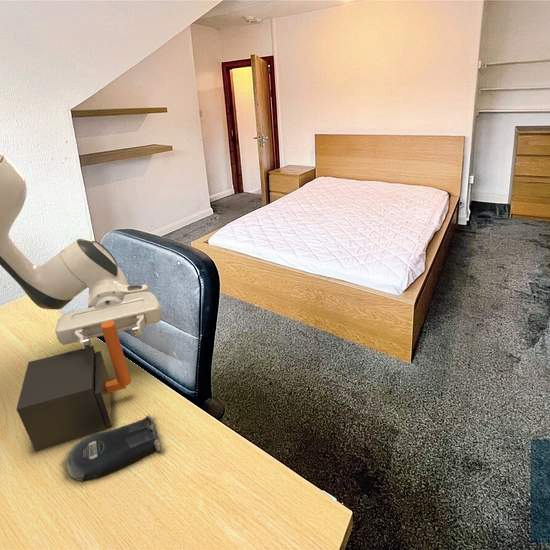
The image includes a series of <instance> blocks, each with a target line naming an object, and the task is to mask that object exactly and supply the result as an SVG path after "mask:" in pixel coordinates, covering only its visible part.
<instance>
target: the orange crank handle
mask: <svg viewBox="0 0 550 550" xmlns="http://www.w3.org/2000/svg"><path fill="white" fill-rule="evenodd" d="M101 328H102V331H103V334H104V335H103V338H104V341H105V344H106V347H107V351H108V354H109V357H110V361H111V365H112V368H113V371H114V374H115V378H116V379H111V380H110V376H109V373H108V370H107V367H106V364H105V360H104V357H103V353H102V350H98V351H95V353H96V362H95V363H94V391H95V395H96V398H97V401H98V404H99V407H100V410H101V413H102V416H103V419H104V422H105V425H106V428H108V427H111V426H113V421H112V394H111V393H114V392H117V391H120V390H123V389H126V388H127V386H129V385H130V384H131V383H132V379H131V376H130V372H129V368H128V365H127V361H126V359H125V354H124V351H123V347H122V344H121V340H120V337H119V334H118V333H119V332H117V329H116V326H115V322H114V321H106V322H104V323H102V325H101Z"/></svg>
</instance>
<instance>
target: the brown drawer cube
mask: <svg viewBox="0 0 550 550" xmlns="http://www.w3.org/2000/svg"><path fill="white" fill-rule="evenodd" d="M95 362H96V349H95V347H94V345H91V347H89V348H85V349H82V348H78V349H75V350H71V351H67V352H62V353H58V354H54V355H50V356H47V357H43V358H39V359H34V360H31V361H28V363H27V366H26V370H25V374H24V378H23V382H22V385H21V390H20V394H19V397H18V401H17V405H16V410H15V411H16V412H17V414H18V416H19V418H20V420H21V422H22V425H23V427H24V429H25V431H26V433H27V435H28V438H29V440H30V442H31V444H32V447H33V449H34V451H35V452H38V451H42V450H44V449H48V448H51V447H54V446H57V445H60V444H64V443H66V442H70V441H73V440H77V439H80V438H82V437H87V436H91V435H94V434H97V433H100V432H101V431H102V432H103V431H105V430H107V427H106V425H105V422H104V419H103V416H102V413H101V410H100V407H99V404H98V401H97V398H96V395H95V391H94V363H95Z"/></svg>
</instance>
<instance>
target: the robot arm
mask: <svg viewBox="0 0 550 550" xmlns="http://www.w3.org/2000/svg"><path fill="white" fill-rule="evenodd" d="M27 189H28V188H27V183H26V179H25V177H24V176H23V174H22V173H21V171H20V170H19V169H18V168H17V167H16V166H15V165H14V164H13V163H12V162H11V161H10V159H8V158H7V157H6V156H5V155H4V154H3V153H2V152H1V151H0V267H1V268H2V269H3V270H4V271H5V272H6V273H7V274H8V275H9V276H10V277H11V278H12V279H13V280H14V282H16V283H17V284H18V285H19V286H20V287H21V289H22V290H23V291H24V293H25V294H26V296H28V298H29V299H30V300H31V301H32V302H33V303H34V304H35V305H36V306H37V307H38V308H40V309H43V310H55V311H56V310H62V309H63V308H65V307H66V306H67V305H68V304H70V302H71V301H72V300H73V299H75V297H77V296H78V295H79V294H81V293H82V292H84V291H85V290H86V289H87V288H88V301H87V307H85V308H80V309H76V310H72V311H68V312H66V313H64V314H62V315H61V316H60V317H59V318H58V319H57V322H56V325H55V330H54V333H55V335H56V339H57V341H58V343H59V344H60V345H65V346H66V345H70V344H74V343H78V344H79V345H80V346H81V349H85V348H89V347H91V346H92V341H91V339H95V338H99V337H102V336H103V337H104V334H103V331H102V328H101V325H102V323H104V322H106V321H114V322H115V326H116V329H117V333H120V332H123V331H128V330H132V332H133V333H132V334H133V336H134V337H136V336H141V335H143V332H142V331H143V330H144V328H146V327H147V325H152V324H156V323H159V322H161V321H162V320H163V313H162V309H161V305H160V303H159V300H158V298H157V297H156V296H155V294H154V293H152V292H151V291H150V289H149V286H148V285H146V284H136V285H135V284H133V285H131V284H130V285H129V282H128V280H127V277H126V275H125V273H124V272H123V270H122V269H121V267H119V266H118V262H117V260H116V259H115V257H114V256H113V254H112V253H111V252H110V251H109V250H108V249H107V248H106V247H105V246H104V245H103V244H102V243H100V242H98V241H95V240H92V239H88V238H78V239H76V240H75V241H73V242H72V243H70V244H69V245H67V246H66V247H65V248H64V249H62V250H61V251H60V252H58V253H57V254H55V255H54V256H53V257H51V258H50V259H49V260H47V261H46V262H45V263H43V264H41V265H35V264H33V263H32V262H31V260H30V259H29V258H28V257H27V256H26V255H25V254H24V253H23V251H21V250H20V248H19V247H18V246H17V245H16V244H15V242H13V241H12V239H11V238H10V231H11V228H12V226H13V225H14V223H15V221H16V219H18V216H19V215H20V213H21V211H22V209H23V207H24V205H25V201H26V198H27V192H28V190H27Z"/></svg>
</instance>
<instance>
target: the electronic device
mask: <svg viewBox="0 0 550 550" xmlns="http://www.w3.org/2000/svg"><path fill="white" fill-rule="evenodd" d="M155 452H161V443H160V442H159V438H158V435H157V432H156V424H155V422H154V421H153V418H152V416H151V414H149V413H148V414H147V415H146V416H145V417H144V418H142V419H140V420H137V421H135V422H132V423H129V424H127V425H123V426H120V427H117V428H114V429H111V430H107V431H102V432H97V433H93V434H90V435H88V436H86V437H85V438H83V439H82V440H80V441H78V442H77V443H76V444H75V445H74V446H73V447H72V448H71V449H70V451H69V454H68V457H67V459H66V460H65V461H66V462H65V464H66V468H67V472H68V476H69V477H70V478H72V479H74V480H76V481H80V482H85V481H89V480H94V479H99V478H100V477H105V476H106V475H109V474H111V473H114V472H116V471H119V470H121V469H123V468H125V467H128V466H130V465H132V464H135V463H137V462H138V461H140V460H142V459H143V458H145V457H147V456H149V455H151V454H153V453H155Z"/></svg>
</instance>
